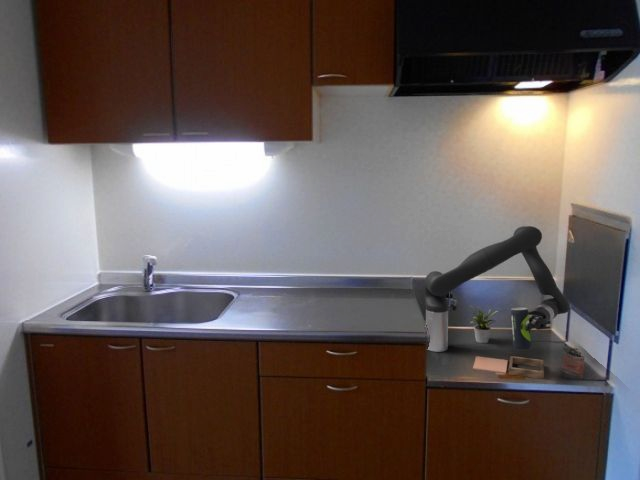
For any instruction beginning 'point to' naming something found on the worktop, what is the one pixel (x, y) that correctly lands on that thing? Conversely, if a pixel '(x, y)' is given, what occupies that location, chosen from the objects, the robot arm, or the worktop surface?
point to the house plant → (482, 326)
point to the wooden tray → (525, 371)
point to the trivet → (490, 364)
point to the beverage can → (520, 336)
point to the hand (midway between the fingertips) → (524, 327)
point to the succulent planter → (573, 361)
